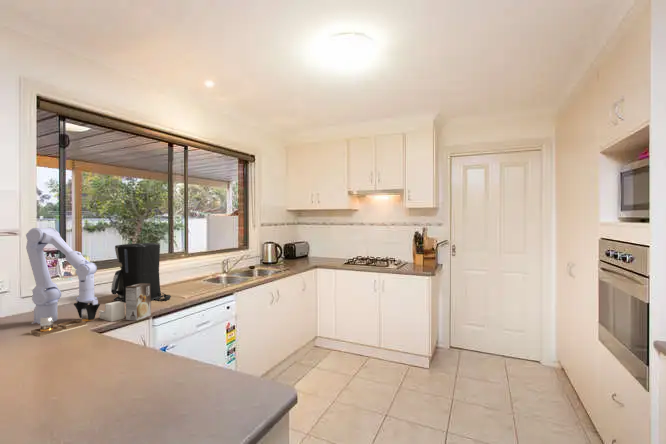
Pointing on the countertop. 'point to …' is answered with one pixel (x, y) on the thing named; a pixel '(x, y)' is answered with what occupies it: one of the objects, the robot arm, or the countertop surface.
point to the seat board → (60, 328)
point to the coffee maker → (138, 269)
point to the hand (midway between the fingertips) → (87, 318)
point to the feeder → (113, 311)
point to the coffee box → (138, 301)
